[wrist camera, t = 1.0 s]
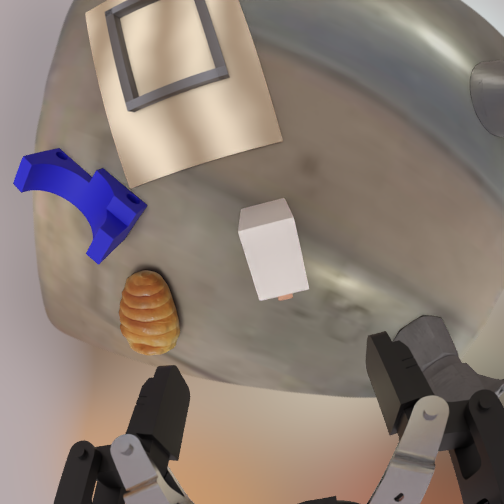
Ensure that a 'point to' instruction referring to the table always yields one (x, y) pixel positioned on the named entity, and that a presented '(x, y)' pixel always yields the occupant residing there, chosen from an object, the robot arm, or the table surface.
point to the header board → (179, 83)
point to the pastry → (148, 314)
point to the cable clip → (84, 196)
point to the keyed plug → (272, 250)
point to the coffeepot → (443, 361)
